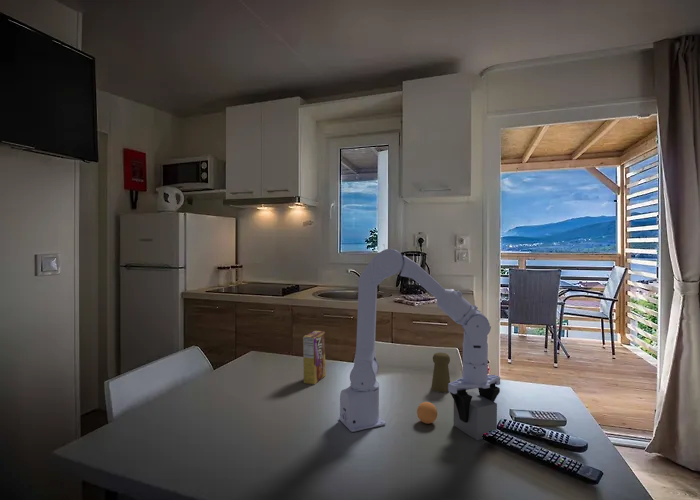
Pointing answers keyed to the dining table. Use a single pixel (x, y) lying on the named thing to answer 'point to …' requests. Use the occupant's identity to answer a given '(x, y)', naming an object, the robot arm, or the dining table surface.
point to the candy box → (314, 357)
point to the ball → (427, 412)
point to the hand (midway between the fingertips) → (474, 418)
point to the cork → (440, 372)
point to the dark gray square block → (478, 417)
